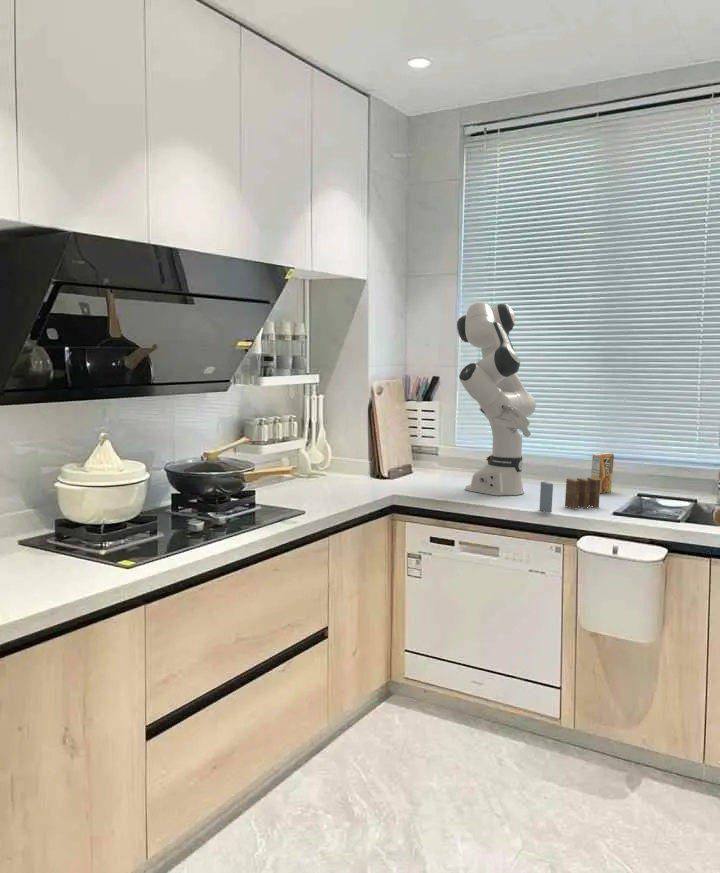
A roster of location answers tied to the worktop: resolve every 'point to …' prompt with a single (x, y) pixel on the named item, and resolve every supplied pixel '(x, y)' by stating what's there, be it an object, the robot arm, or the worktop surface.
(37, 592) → the worktop surface
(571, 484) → the tile
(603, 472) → the candy box
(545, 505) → the loose tile
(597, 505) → the brown wooden block
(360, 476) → the worktop surface
